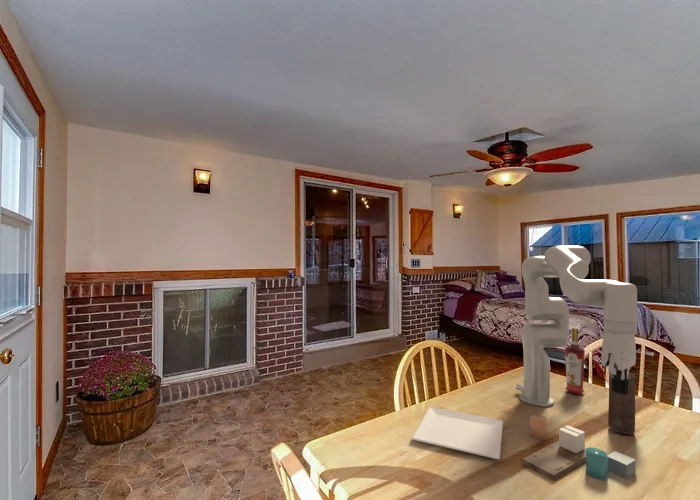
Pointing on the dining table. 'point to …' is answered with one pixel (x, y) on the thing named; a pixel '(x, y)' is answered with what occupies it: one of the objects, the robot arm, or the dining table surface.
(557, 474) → the rail
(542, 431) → the peach domed cylinder
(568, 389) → the liquor
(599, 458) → the teal rounded cylinder
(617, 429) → the candle
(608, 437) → the dining table surface
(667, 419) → the dining table surface
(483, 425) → the plate
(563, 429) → the slider
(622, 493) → the dining table surface
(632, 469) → the slate box
